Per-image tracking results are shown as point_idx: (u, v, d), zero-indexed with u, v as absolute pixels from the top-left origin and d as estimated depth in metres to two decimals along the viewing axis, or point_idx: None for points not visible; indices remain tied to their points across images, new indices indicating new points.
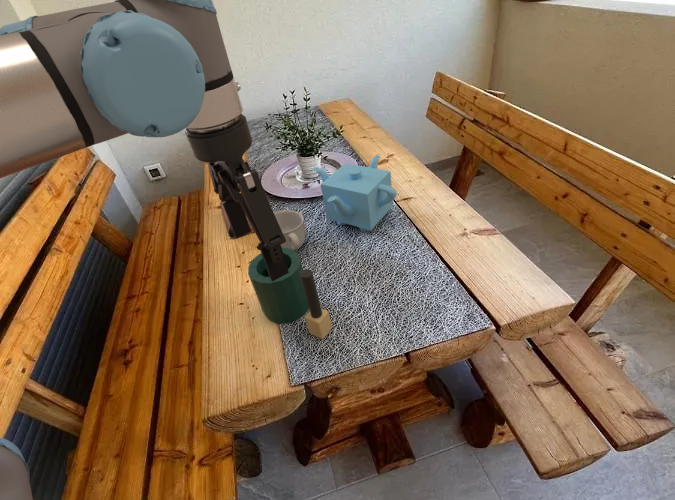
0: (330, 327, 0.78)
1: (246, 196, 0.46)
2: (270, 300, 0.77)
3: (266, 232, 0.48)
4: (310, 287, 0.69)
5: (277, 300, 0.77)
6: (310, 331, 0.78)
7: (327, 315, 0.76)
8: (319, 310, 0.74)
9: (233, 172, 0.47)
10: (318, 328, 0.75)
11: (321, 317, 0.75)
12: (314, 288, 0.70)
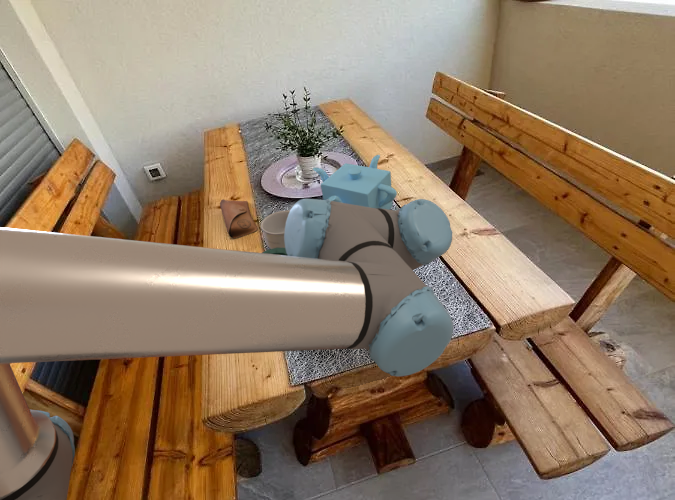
0: None
1: None
2: None
3: None
4: None
5: None
6: None
7: None
8: None
9: None
10: None
11: None
12: None
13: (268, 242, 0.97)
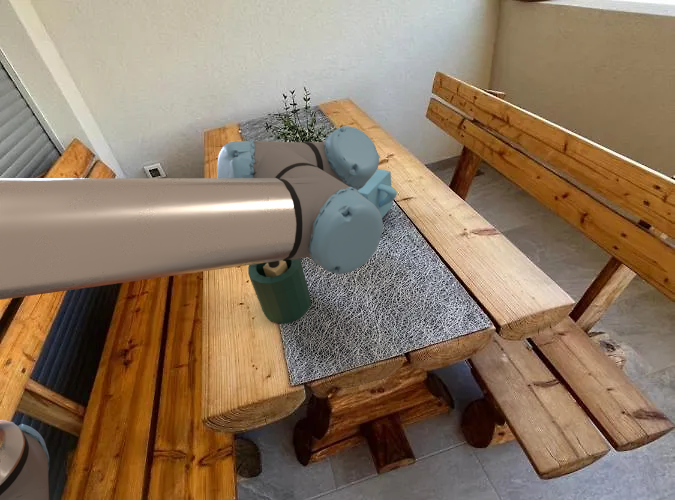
0: None
1: None
2: (270, 300, 0.77)
3: None
4: None
5: (277, 300, 0.77)
6: None
7: (284, 265, 0.78)
8: None
9: None
10: None
11: (278, 266, 0.77)
12: None
13: None
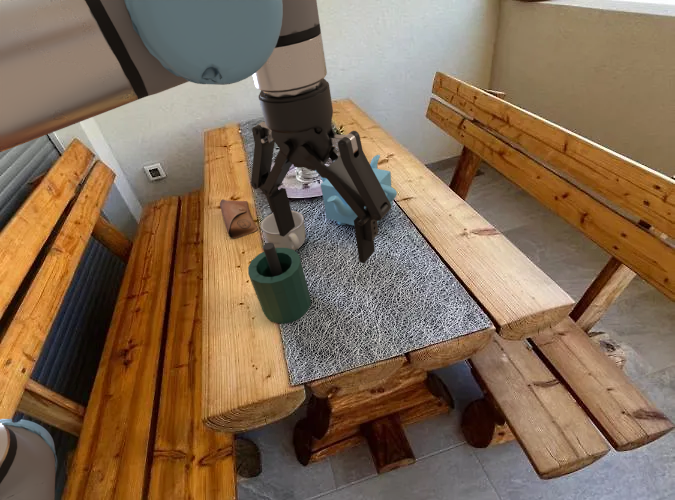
0: None
1: (352, 162, 0.41)
2: (270, 300, 0.77)
3: (376, 200, 0.43)
4: (272, 259, 0.76)
5: (277, 300, 0.77)
6: None
7: None
8: None
9: (326, 140, 0.41)
10: None
11: None
12: (276, 260, 0.77)
13: (268, 242, 0.97)
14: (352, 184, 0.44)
